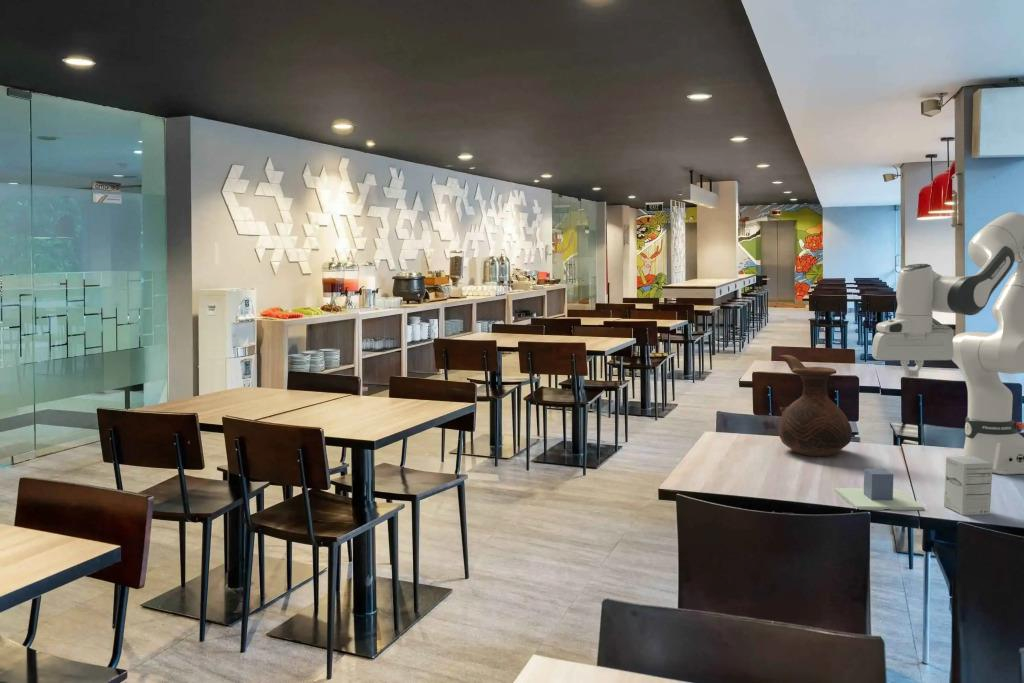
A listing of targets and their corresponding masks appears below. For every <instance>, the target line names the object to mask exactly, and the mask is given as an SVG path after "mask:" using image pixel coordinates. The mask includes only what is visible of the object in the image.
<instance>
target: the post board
mask: <svg viewBox="0 0 1024 683" xmlns="http://www.w3.org/2000/svg"><path fill="white" fill-rule="evenodd" d="M835 491H836V492H837V493H836V492H835ZM834 492H835V493H836V494H838V495H839V496H840V497H841V498H842V497H843V498H844V499H843V498H842V499H843V500H845V502H847V501H848V502H849V503H850V506H852V507H853V506H854V507H855V508H856V509H855V508H854V507H853V508H854V509H855V510H857V509H859V510H865V511H870V510H871V511H872V510H873V511H878V510H879V511H885V510H884V509H891V510H890V511H925V506H924V505H922V504H920V503H919V502H918V501H917V500H915V499H913V498H912V497H911V496H909V495H907V494H906V493H904V492H903V491H902V490H900V489H899V488H895V487H893V500H871V499H869V498H868V497H867V496H865V495H864V487H834ZM848 502H847V503H848ZM849 503H848V504H849ZM859 510H858V511H859Z"/></svg>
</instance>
